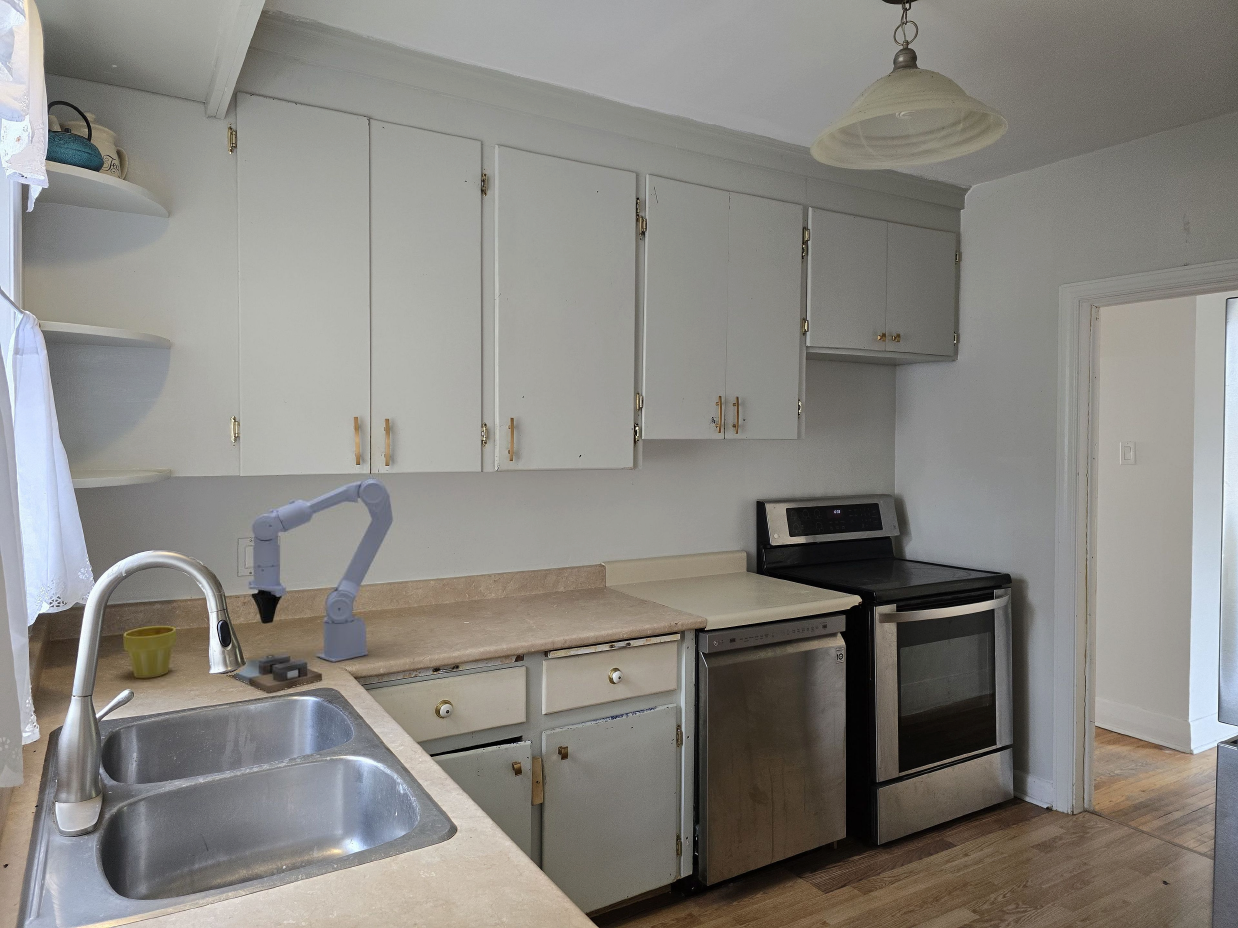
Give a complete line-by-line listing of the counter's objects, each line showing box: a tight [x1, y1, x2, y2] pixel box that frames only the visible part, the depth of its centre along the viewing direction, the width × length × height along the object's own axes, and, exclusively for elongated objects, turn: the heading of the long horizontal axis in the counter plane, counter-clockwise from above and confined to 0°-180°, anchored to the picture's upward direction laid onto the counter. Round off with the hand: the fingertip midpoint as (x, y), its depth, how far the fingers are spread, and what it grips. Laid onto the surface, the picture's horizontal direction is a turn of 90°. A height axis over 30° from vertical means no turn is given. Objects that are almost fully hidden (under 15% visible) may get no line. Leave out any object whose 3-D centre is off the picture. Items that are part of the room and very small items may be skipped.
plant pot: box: [122, 625, 177, 679], centre depth 186 cm, size 10×10×10 cm
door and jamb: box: [229, 654, 323, 694], centre depth 185 cm, size 12×22×4 cm, turn 49°
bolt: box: [265, 654, 298, 679], centre depth 182 cm, size 2×11×3 cm, turn 49°
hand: (267, 622), depth 196 cm, fingers closed
